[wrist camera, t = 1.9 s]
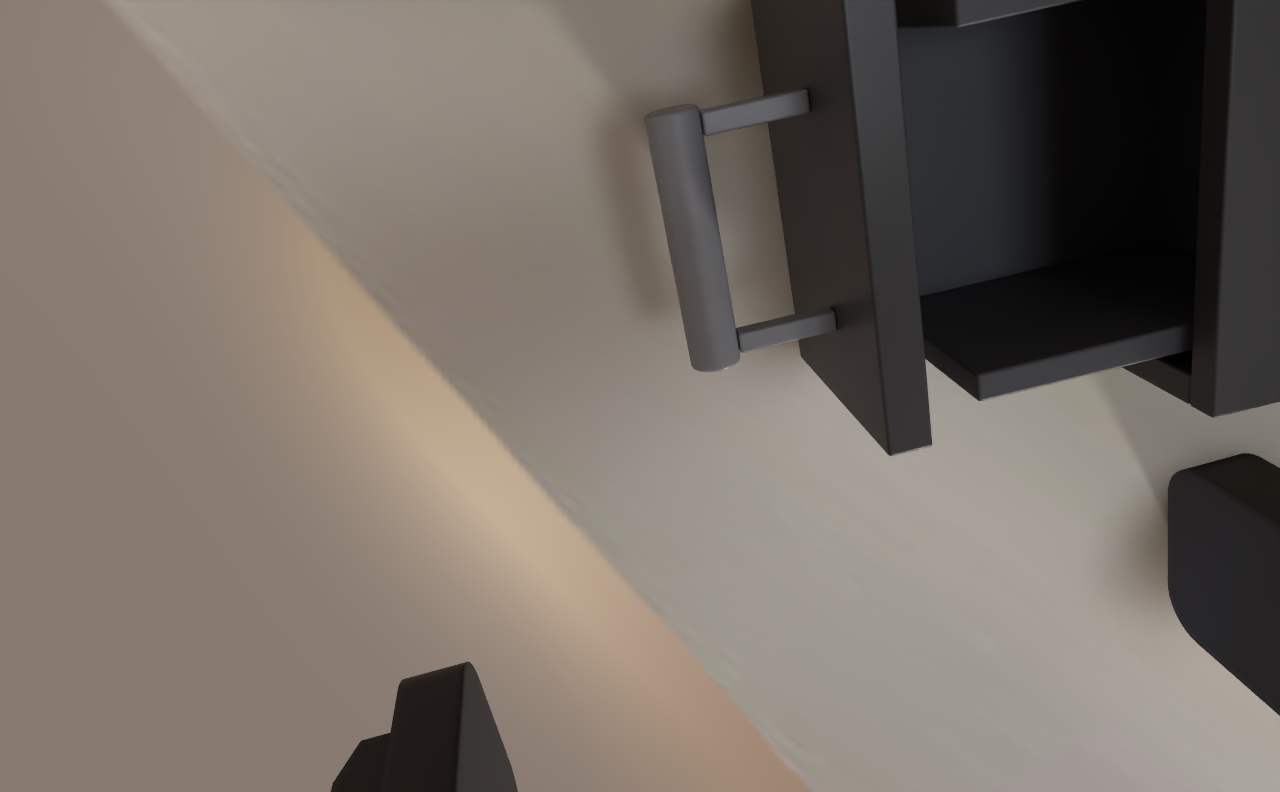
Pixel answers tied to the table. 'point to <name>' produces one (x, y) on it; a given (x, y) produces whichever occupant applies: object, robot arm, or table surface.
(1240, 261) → the small drawer cabinet
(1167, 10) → the pull-out drawer
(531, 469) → the table surface
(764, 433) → the table surface
